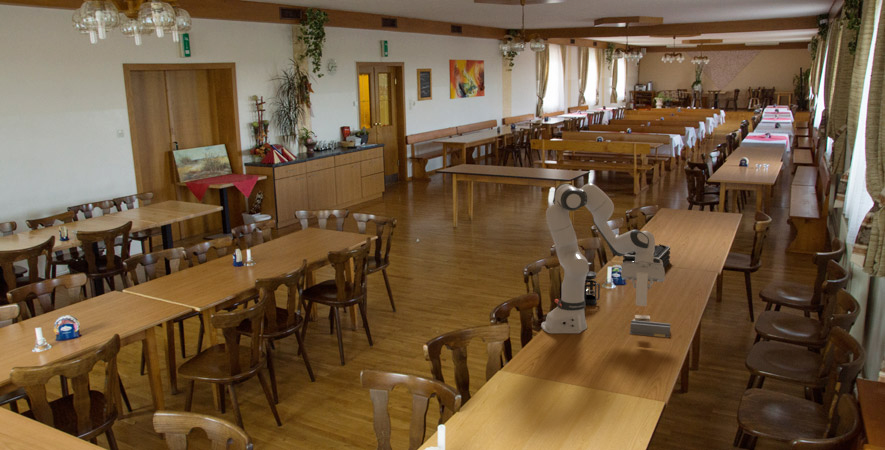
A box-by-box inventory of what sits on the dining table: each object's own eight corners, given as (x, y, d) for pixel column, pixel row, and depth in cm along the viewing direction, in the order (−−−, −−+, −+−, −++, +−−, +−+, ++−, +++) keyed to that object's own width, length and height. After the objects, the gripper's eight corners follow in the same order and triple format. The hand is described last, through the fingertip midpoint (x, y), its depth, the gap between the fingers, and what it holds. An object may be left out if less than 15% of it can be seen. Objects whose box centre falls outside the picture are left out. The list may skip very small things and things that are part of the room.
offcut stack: (632, 327, 327) (632, 317, 326) (633, 323, 332) (633, 314, 331) (649, 329, 324) (650, 319, 323) (650, 325, 329) (650, 315, 328)
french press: (575, 303, 366) (575, 263, 361) (582, 298, 374) (582, 259, 369) (595, 307, 359) (596, 266, 354) (602, 302, 367) (603, 262, 362)
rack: (629, 335, 319) (630, 325, 318) (632, 325, 332) (632, 315, 331) (669, 339, 313) (669, 329, 312) (670, 329, 326) (670, 319, 325)
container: (670, 262, 440) (671, 242, 437) (657, 276, 411) (658, 255, 408) (636, 258, 451) (637, 239, 449) (621, 272, 422) (622, 251, 419)
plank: (635, 305, 320) (636, 273, 316) (635, 304, 322) (637, 272, 318) (646, 306, 318) (647, 274, 315) (646, 304, 320) (648, 272, 316)
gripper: (621, 257, 325) (618, 282, 318) (665, 260, 318) (663, 286, 311) (622, 264, 330) (619, 288, 323) (665, 267, 323) (663, 292, 316)
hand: (641, 287), depth 317 cm, fingers closed on plank, 5 cm apart
